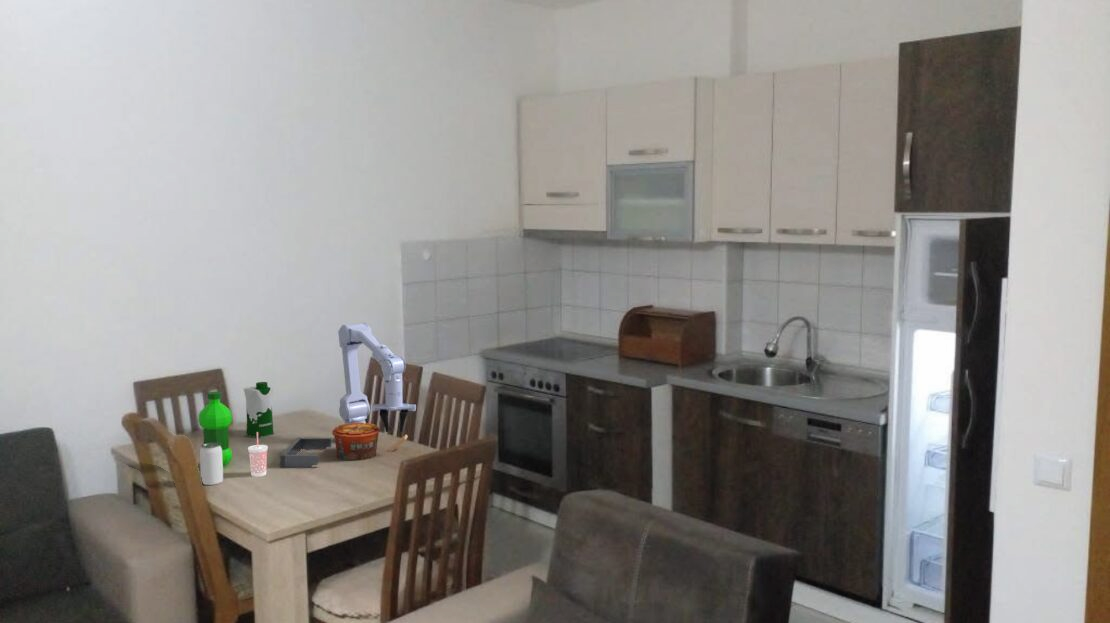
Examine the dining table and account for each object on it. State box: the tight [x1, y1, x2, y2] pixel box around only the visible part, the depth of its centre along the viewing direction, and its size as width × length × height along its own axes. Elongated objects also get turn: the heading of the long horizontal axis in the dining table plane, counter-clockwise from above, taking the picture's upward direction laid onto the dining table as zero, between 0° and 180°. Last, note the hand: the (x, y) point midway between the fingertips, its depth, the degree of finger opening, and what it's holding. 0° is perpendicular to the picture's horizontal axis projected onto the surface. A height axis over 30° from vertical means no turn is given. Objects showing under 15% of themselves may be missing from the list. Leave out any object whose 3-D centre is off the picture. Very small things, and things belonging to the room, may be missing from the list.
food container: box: [331, 422, 381, 462], centre depth 300 cm, size 16×16×11 cm
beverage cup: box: [247, 432, 269, 478], centre depth 281 cm, size 6×6×14 cm
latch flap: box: [387, 434, 409, 452], centre depth 307 cm, size 5×8×1 cm
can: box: [199, 443, 224, 486], centre depth 272 cm, size 6×6×12 cm
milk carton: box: [243, 381, 274, 438], centre depth 327 cm, size 9×9×20 cm
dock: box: [279, 437, 333, 469], centre depth 299 cm, size 22×12×4 cm, turn 2°
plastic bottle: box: [198, 390, 233, 469], centre depth 287 cm, size 10×10×25 cm
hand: (394, 431), depth 299 cm, fingers open, 4 cm apart
